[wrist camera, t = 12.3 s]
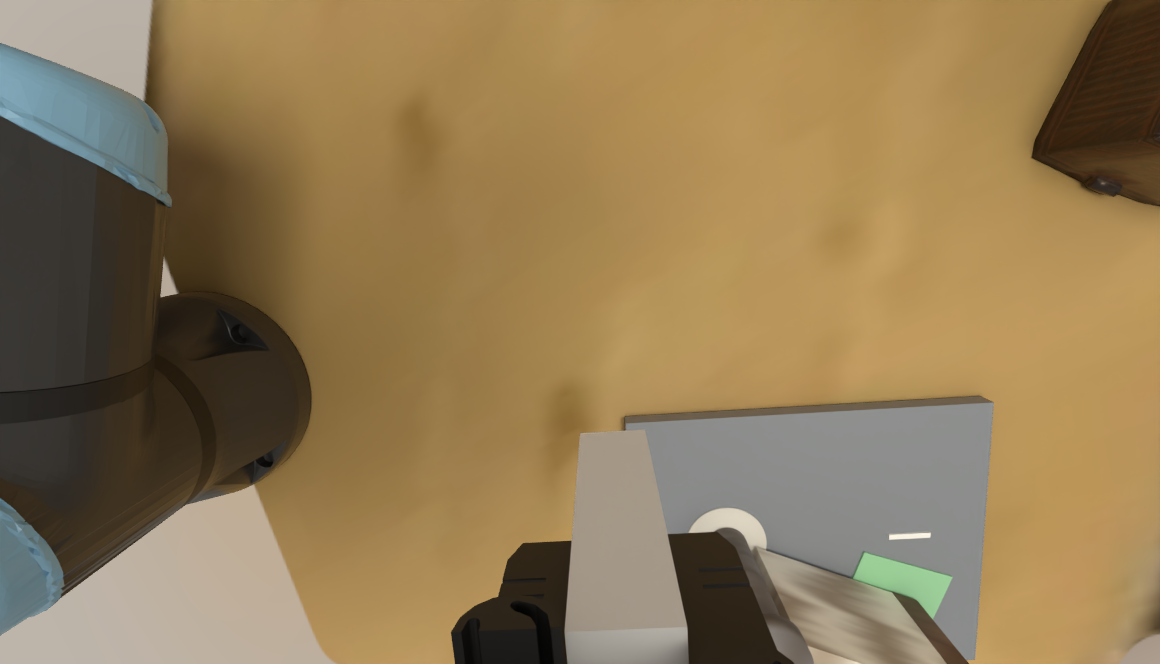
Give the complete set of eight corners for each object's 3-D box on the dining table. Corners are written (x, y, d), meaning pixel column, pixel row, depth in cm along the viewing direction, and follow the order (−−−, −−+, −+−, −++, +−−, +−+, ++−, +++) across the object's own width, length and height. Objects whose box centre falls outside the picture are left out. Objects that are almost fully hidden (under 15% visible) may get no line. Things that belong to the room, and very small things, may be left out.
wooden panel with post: (688, 561, 45) (721, 688, 33) (710, 511, 44) (751, 623, 32) (898, 631, 45) (1005, 780, 33) (923, 583, 44) (1042, 719, 33)
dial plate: (639, 658, 48) (640, 674, 47) (624, 416, 44) (625, 424, 43) (963, 645, 47) (976, 661, 46) (980, 395, 43) (995, 403, 41)
